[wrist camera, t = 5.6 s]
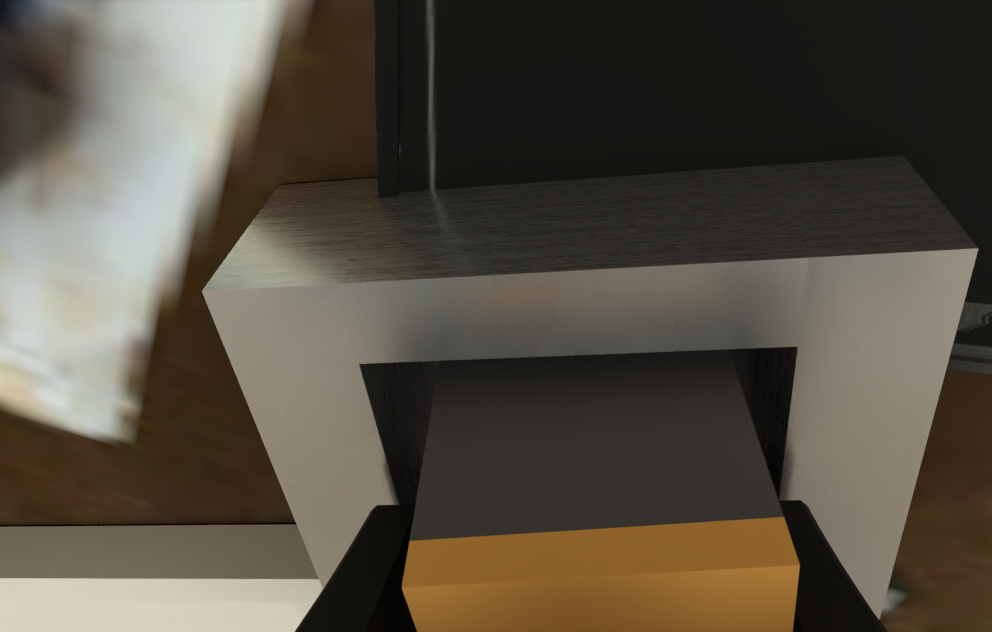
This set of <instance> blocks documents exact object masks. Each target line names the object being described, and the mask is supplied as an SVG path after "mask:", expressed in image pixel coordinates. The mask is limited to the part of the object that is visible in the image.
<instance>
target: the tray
mask: <svg viewBox="0 0 992 632" xmlns="http://www.w3.org/2000/svg"><path fill="white" fill-rule="evenodd" d="M322 590H323V588H322V586H321V583H320V581H319V578H318V576H317V573H316V571H315V568H314V566H313V564H312V561H311V559H310V556H309V554H308V551H307V549H306V546H305V544H304V541H303V539H302V536H301V534H300V532H299V529H298V527H297V524H285V525H159V526H32V527H0V632H295V630H296V629H297V627H298V626H299V624H300V623H301V621H302V620H303V619H304V617H305V616H306V614H307V613H308V611H309V610H310V608H311V607H312V605H313V604H314V602H315V601H316V599H317V598H318V596H319V595H320V593H321V592H322Z"/></svg>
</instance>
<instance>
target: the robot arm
mask: <svg viewBox="0 0 992 632" xmlns="http://www.w3.org/2000/svg"><path fill="white" fill-rule="evenodd" d="M779 503H780V506H781V509H782V512H783V515H784V518H785V521H786V524H787V527H788V530H789V533H790V536H791V540H792V543H793V546H794V549H795V552H796V555H797V558H798V561H799V564H800V569H799V578H798V588H797V597H796V606H795V615H794V624H793V632H887V630H886V629H885V628H884V626H883V625H882V623H881V622H880V621H879V619H878V618H877V616H876V615H875V614H874V612H873V611H872V609H871V608H870V606H869V605H868V603H867V602H866V600H865V599H864V597H863V596H862V594H861V593H860V591H859V590H858V588H857V587H856V585H855V584H854V582H853V581H852V579H851V578H850V576H849V575H848V573H847V571H846V570H845V568H844V567H843V565H842V564H841V562H840V560H839V559H838V557H837V556H836V554H835V552H834V551H833V549H832V547H831V546H830V544H829V542H828V541H827V539H826V537H825V536H824V534H823V532H822V531H821V529H820V527H819V525H818V524H817V522H816V520H815V518H814V517H813V515H812V513H811V511H810V509H809V507H808V506H807V505H806V504H805V503H803V502H802V501H801V500H779ZM414 511H415V505H376V506H375V507H374V508H373V509H372V510H371V512H370V513H369V515H368V517H367V518H366V520H365V522H364V524H363V525H362V527H361V529H360V530H359V532H358V534H357V535H356V537H355V539H354V540H353V542H352V544H351V545H350V547H349V549H348V550H347V552H346V554H345V555H344V557H343V559H342V560H341V562H340V563H339V565H338V567H337V568H336V570H335V571H334V573H333V574H332V576H331V578H330V579H329V581H328V582H327V584H326V586H325V587H324V589H323V590H322V592H321V593H320V595H319V596H318V598H317V599H316V601H315V602H314V604H313V605H312V607H311V608H310V610H309V611H308V613H307V614H306V616H305V617H304V619H303V620H302V621H301V623H300V624H299V626H298V627H297V629H296V630H295V632H417V630H416V627H415V624H414V621H413V619H412V616H411V613H410V610H409V607H408V605H407V602H406V599H405V596H404V593H403V590H402V582H403V576H404V570H405V564H406V558H407V552H408V546H409V540H410V534H411V529H412V523H413V517H414Z"/></svg>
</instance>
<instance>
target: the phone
mask: <svg viewBox="0 0 992 632" xmlns="http://www.w3.org/2000/svg"><path fill="white" fill-rule="evenodd" d="M374 15H375V77H376V138H377V198H385V197H397V196H398V194H399V192H411V191H424V190H438V189H452V188H466V187H479V186H493V185H507V184H520V183H534V182H548V181H562V180H575V179H589V178H603V177H616V176H630V175H644V174H658V173H671V172H685V171H699V170H713V169H726V168H740V167H754V166H767V165H781V164H795V163H809V162H822V161H836V160H850V159H863V158H877V157H891V156H904V157H905V158H906V159H907V161H908V162H909V163H910V164H911V166H912V167H913V168H914V169H915V170H916V172H917V173H918V174H919V175H920V177H921V178H922V179H923V180H924V182H925V183H926V184H927V185H928V187H929V188H930V189H931V190H932V191H933V193H934V194H935V195H936V196H937V198H938V199H939V200H940V201H941V203H942V204H943V205H944V206H945V207H946V209H947V210H948V211H949V212H950V214H951V215H952V216H953V217H954V219H955V220H956V221H957V222H958V224H959V225H960V226H961V227H962V228H963V230H964V231H965V232H966V233H967V235H968V236H969V237H970V238H971V240H972V241H973V242H974V243H975V245H976V246H977V247H978V248H979V249H978V252H977V256H976V260H975V264H974V267H973V271H972V275H971V279H970V282H969V286H968V290H967V294H966V297H965V301H964V305H963V309H962V312H961V316H960V320H959V323H958V327H957V331H956V335H955V338H954V342H953V346H952V350H951V353H950V357H949V361H948V365H947V368H946V369H947V370H956V371H964V372H973V373H982V374H990V375H992V0H374Z"/></svg>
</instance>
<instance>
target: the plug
mask: <svg viewBox="0 0 992 632" xmlns="http://www.w3.org/2000/svg"><path fill="white" fill-rule="evenodd" d="M799 569H800V564H799V561H798V558H797V555H796V552H795V549H794V546H793V543H792V540H791V536H790V533H789V530H788V527H787V524H786V521H785V518H784V515H783V512H782V509H781V506H780V503H779V500H778V497H777V494H776V491H775V488H774V485H773V482H772V479H771V476H770V473H769V470H768V467H767V464H766V461H765V458H764V455H763V452H762V449H761V446H760V443H759V440H758V437H757V434H756V431H755V428H754V425H753V422H752V418H751V415H750V412H749V409H748V406H747V403H746V400H745V397H744V394H743V391H742V388H741V385H740V382H739V379H738V376H737V373H736V370H735V367H734V364H733V361H732V358H731V355H730V352H729V349H723V350H698V351H673V352H647V353H622V354H596V355H571V356H546V357H520V358H495V359H469V360H444V361H440V362H439V368H438V374H437V380H436V386H435V392H434V398H433V404H432V410H431V416H430V421H429V427H428V433H427V439H426V445H425V451H424V457H423V463H422V469H421V475H420V481H419V487H418V493H417V499H416V505H415V511H414V517H413V523H412V529H411V534H410V540H409V546H408V552H407V558H406V564H405V570H404V576H403V582H402V590H403V593H404V596H405V599H406V602H407V605H408V607H409V610H410V613H411V616H412V619H413V621H414V624H415V627H416V630H417V632H793V624H794V615H795V606H796V597H797V588H798V578H799Z"/></svg>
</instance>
